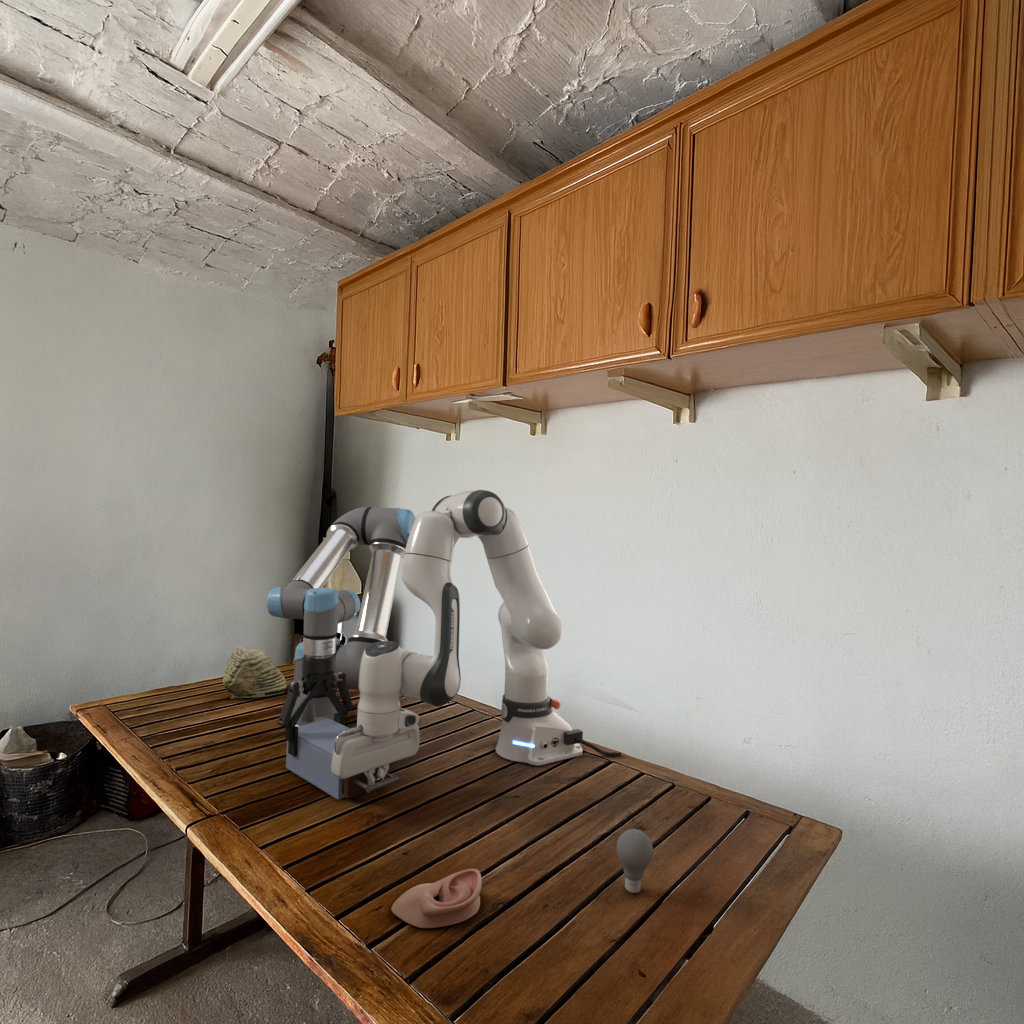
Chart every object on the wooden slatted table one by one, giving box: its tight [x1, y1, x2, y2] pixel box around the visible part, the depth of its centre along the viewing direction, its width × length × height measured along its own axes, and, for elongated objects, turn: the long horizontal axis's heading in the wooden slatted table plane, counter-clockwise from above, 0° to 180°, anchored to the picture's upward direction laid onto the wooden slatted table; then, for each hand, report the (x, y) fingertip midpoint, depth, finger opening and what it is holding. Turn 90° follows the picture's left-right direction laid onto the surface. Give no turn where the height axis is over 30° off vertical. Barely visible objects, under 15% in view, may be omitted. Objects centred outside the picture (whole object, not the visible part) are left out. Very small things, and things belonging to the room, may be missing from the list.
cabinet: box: [285, 719, 351, 801], centre depth 144 cm, size 21×11×9 cm, turn 49°
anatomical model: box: [391, 868, 483, 929], centre depth 99 cm, size 13×4×12 cm
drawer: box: [342, 767, 400, 799], centre depth 140 cm, size 26×10×7 cm, turn 49°
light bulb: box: [615, 828, 654, 894], centre depth 106 cm, size 6×6×10 cm
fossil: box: [222, 646, 288, 699], centre depth 198 cm, size 9×18×15 cm, turn 132°
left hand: (315, 747), depth 149 cm, fingers closed on cabinet, 11 cm apart
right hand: (375, 786), depth 133 cm, fingers closed
